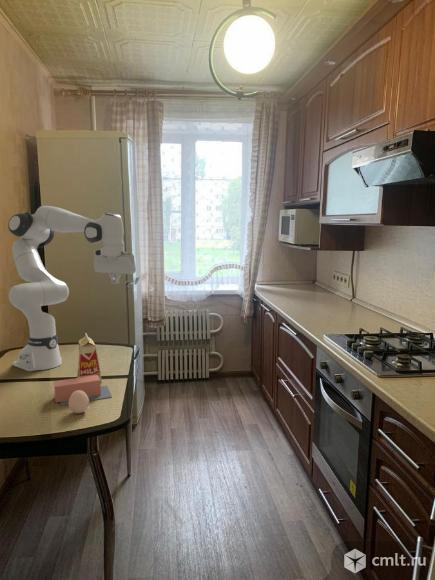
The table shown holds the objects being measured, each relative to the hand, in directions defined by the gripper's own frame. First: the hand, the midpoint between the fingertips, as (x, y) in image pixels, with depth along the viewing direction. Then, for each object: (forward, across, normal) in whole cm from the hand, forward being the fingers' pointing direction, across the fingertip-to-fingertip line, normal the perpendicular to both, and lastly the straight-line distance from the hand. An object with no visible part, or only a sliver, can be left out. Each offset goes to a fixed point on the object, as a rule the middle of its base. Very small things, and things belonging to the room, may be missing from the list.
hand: (115, 283), depth 178 cm
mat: (+39, -7, +29) cm, 49 cm away
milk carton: (+39, +2, +17) cm, 43 cm away
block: (+35, 0, +37) cm, 51 cm away
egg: (+39, -16, +41) cm, 58 cm away
